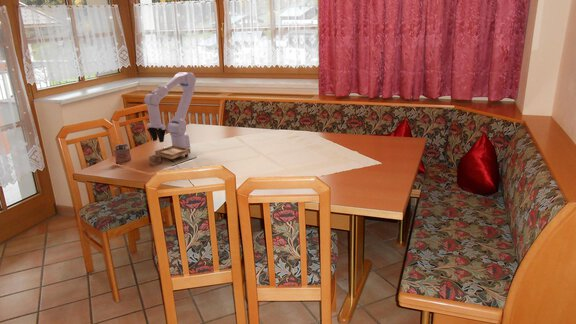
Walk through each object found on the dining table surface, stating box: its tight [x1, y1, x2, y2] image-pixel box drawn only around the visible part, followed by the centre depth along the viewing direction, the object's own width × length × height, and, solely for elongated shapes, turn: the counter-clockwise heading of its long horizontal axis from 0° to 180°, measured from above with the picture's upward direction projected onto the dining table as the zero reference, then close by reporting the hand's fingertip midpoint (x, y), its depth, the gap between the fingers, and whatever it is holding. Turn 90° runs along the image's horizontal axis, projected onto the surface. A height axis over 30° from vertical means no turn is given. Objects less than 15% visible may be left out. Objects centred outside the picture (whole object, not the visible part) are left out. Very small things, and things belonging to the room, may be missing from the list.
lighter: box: [113, 143, 132, 165], centre depth 230 cm, size 8×3×10 cm, turn 105°
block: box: [148, 154, 162, 166], centre depth 223 cm, size 4×4×5 cm
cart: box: [154, 145, 192, 162], centre depth 230 cm, size 12×14×4 cm
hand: (158, 141), depth 236 cm, fingers open, 5 cm apart
